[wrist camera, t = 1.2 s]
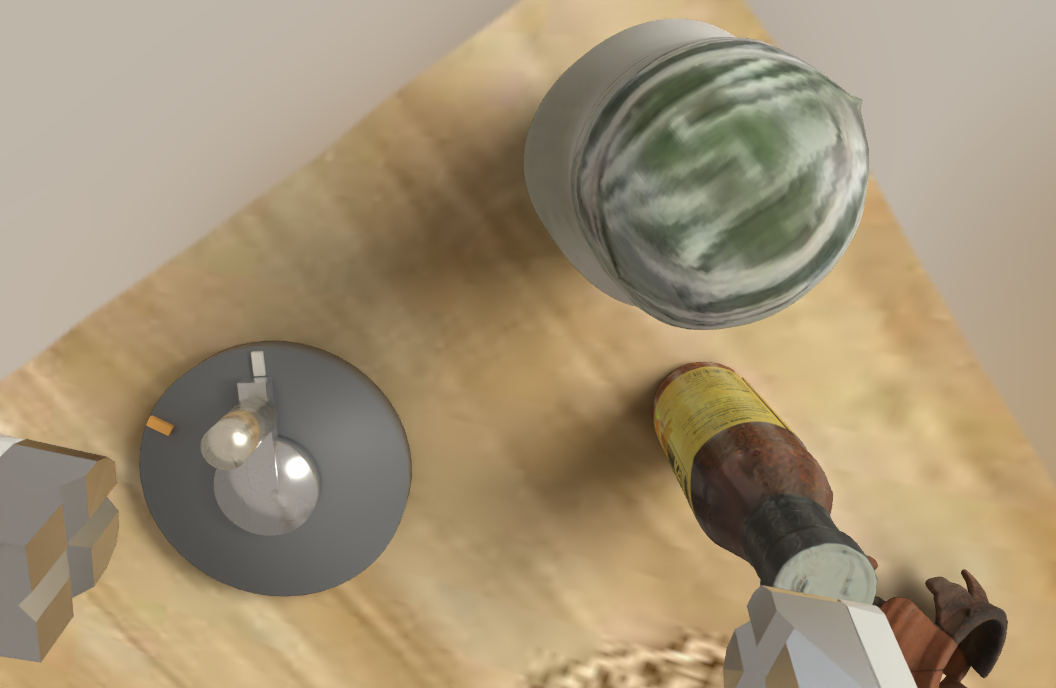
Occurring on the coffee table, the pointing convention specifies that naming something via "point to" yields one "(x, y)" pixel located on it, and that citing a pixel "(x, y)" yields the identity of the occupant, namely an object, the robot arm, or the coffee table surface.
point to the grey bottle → (698, 172)
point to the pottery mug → (947, 632)
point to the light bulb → (260, 465)
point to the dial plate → (316, 423)
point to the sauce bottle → (756, 484)
